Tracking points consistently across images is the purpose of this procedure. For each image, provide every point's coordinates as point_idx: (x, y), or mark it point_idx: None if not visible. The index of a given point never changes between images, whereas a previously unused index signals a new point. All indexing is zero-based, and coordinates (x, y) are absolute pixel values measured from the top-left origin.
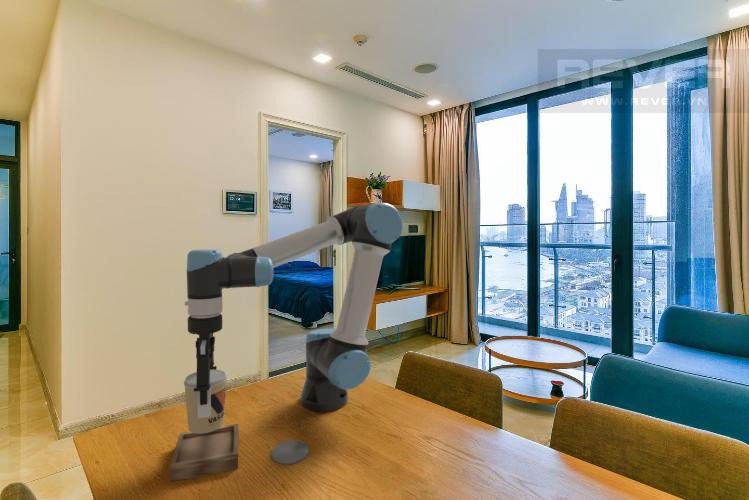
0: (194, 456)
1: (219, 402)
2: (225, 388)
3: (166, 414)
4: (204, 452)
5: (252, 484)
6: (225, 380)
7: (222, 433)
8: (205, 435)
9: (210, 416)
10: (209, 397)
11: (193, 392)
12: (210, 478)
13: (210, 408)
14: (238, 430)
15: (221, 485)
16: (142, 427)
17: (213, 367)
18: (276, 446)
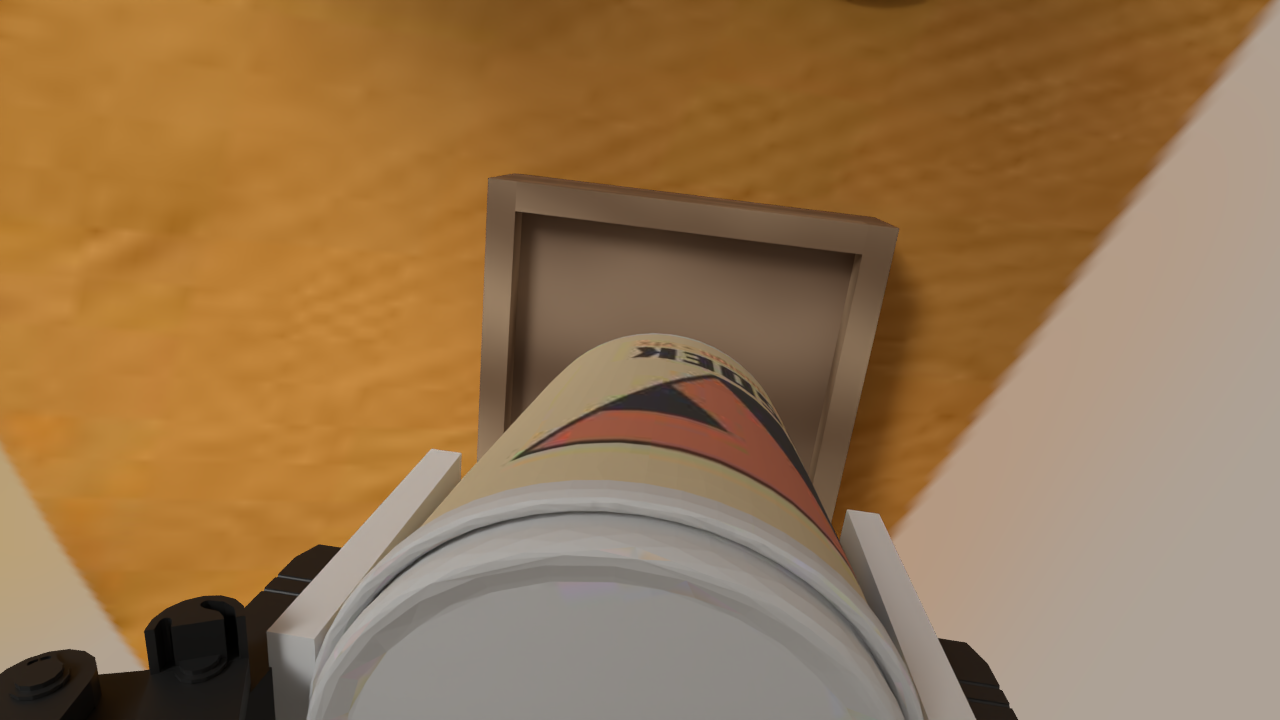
0: None
1: (798, 468)
2: (688, 442)
3: (116, 543)
4: None
5: (1076, 156)
6: (748, 520)
7: (540, 289)
8: (524, 388)
9: (878, 514)
10: (939, 657)
11: None
12: (882, 363)
13: (900, 560)
14: (544, 182)
15: (977, 317)
16: None
17: (199, 674)
18: None
